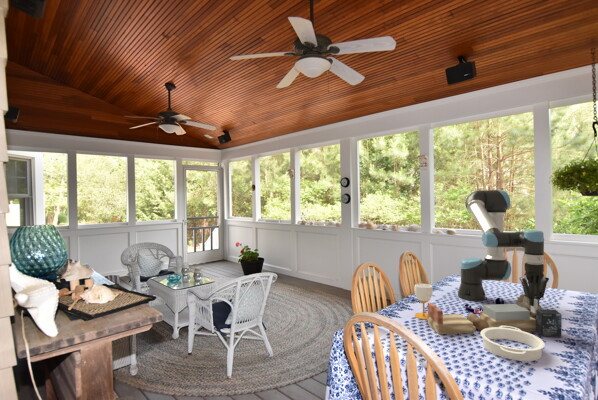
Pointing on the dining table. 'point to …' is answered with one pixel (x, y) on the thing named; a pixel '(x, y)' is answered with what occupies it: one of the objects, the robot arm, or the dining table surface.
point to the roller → (477, 322)
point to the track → (463, 325)
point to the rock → (525, 304)
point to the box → (548, 323)
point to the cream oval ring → (516, 336)
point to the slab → (506, 312)
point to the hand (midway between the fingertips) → (534, 312)
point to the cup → (423, 297)
